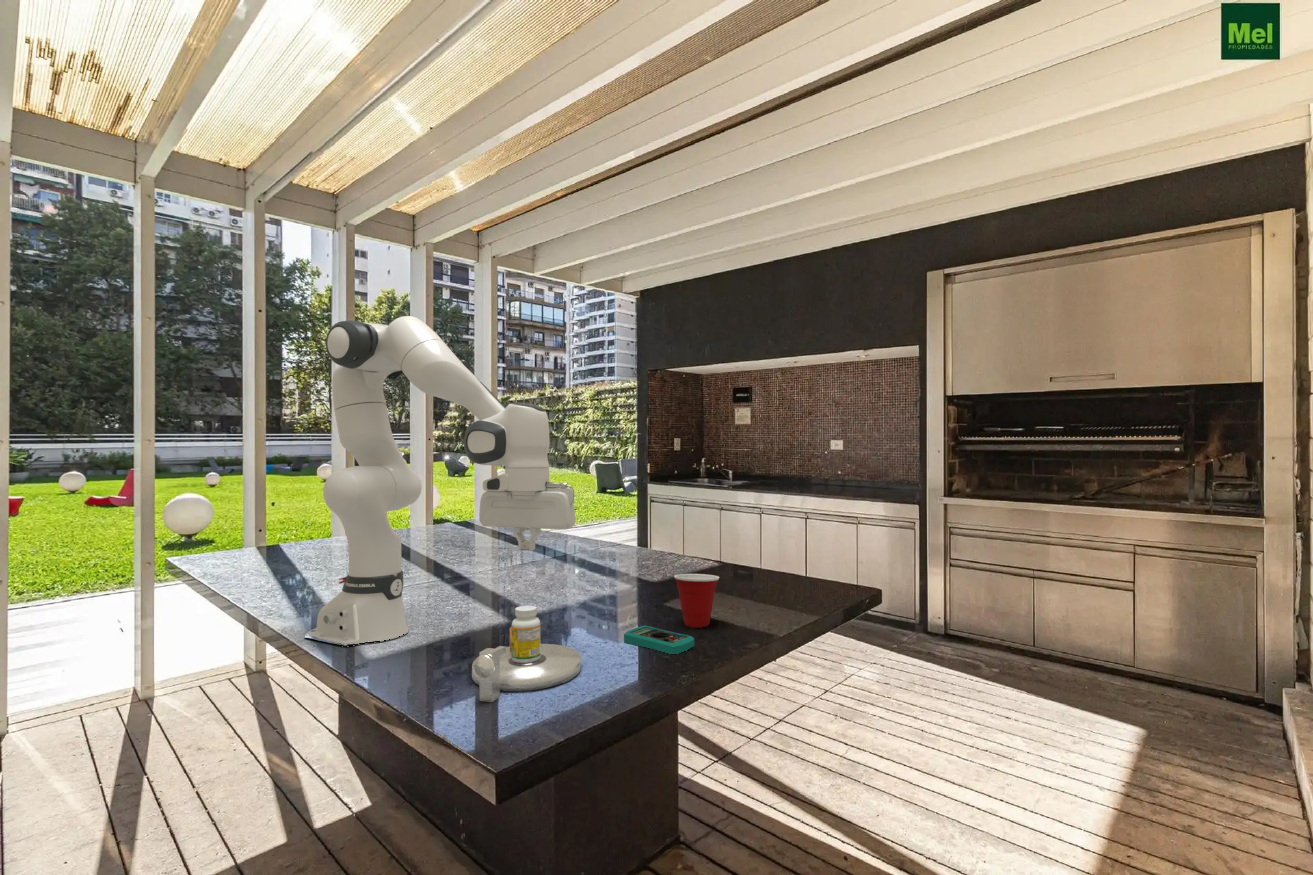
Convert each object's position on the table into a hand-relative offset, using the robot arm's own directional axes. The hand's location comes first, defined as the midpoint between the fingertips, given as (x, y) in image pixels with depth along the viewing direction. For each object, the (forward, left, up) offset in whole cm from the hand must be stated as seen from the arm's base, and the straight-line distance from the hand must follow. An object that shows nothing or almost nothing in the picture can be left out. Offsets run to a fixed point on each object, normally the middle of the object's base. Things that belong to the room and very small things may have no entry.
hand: (526, 550), depth 125 cm
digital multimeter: (+23, +15, -22) cm, 36 cm away
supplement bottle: (+4, -8, -20) cm, 21 cm away
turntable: (+4, -8, -22) cm, 23 cm away
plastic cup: (+28, +31, -22) cm, 47 cm away
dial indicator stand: (+4, -19, -22) cm, 29 cm away
